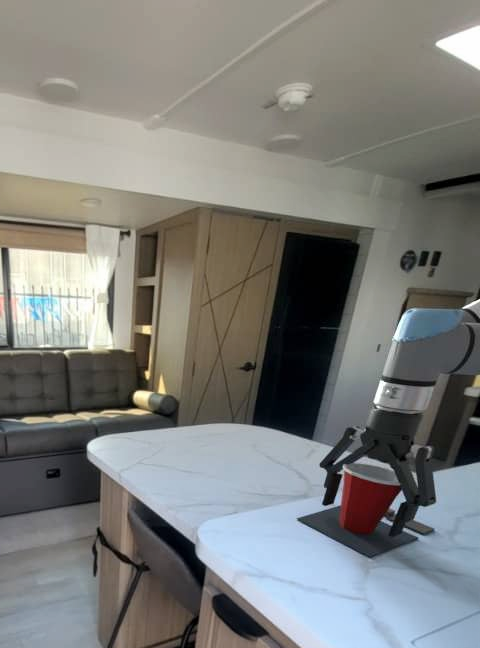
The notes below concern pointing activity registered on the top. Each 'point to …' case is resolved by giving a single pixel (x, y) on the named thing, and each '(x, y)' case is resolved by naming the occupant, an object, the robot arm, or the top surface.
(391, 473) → the plastic cup
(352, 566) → the top surface
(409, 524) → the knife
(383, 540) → the cloth mat
